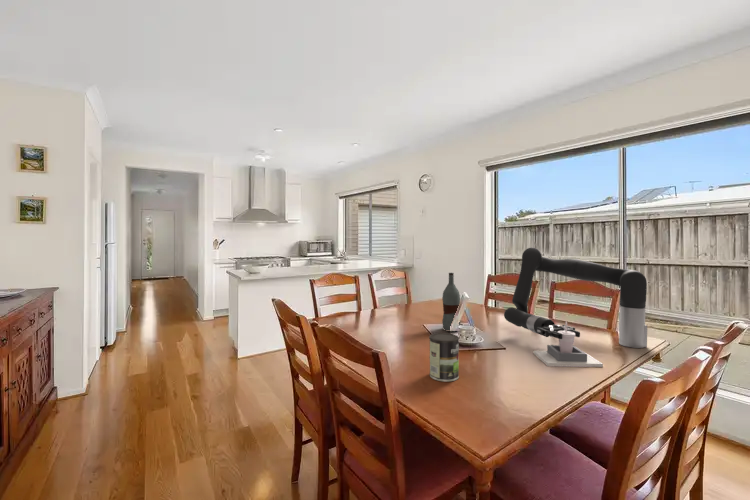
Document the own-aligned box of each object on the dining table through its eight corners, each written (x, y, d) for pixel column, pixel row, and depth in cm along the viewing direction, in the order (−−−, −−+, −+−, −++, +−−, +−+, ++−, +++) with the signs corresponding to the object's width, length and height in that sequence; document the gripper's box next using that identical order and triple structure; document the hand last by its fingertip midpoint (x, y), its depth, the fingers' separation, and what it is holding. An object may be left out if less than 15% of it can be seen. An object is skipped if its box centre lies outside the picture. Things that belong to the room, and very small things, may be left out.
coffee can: (462, 373, 126) (462, 335, 125) (453, 384, 117) (453, 342, 117) (435, 368, 131) (435, 331, 131) (424, 378, 123) (424, 338, 122)
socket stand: (583, 354, 145) (583, 344, 145) (602, 367, 131) (603, 355, 131) (533, 353, 146) (533, 343, 146) (547, 366, 132) (547, 355, 132)
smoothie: (573, 354, 141) (574, 320, 140) (576, 360, 135) (577, 324, 134) (555, 353, 143) (556, 319, 142) (558, 358, 137) (558, 323, 136)
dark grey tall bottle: (459, 333, 177) (459, 274, 176) (441, 331, 180) (441, 273, 179) (461, 328, 186) (461, 272, 185) (443, 327, 189) (443, 271, 188)
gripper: (526, 318, 150) (555, 327, 134) (553, 315, 154) (585, 324, 138) (526, 335, 150) (555, 347, 135) (553, 332, 154) (585, 343, 138)
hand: (570, 335), depth 136 cm, fingers open, 8 cm apart
